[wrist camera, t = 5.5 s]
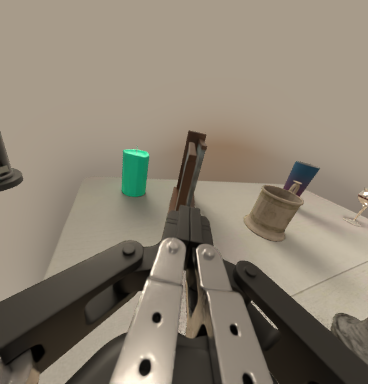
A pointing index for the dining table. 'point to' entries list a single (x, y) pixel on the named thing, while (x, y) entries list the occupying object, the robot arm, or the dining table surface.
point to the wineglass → (367, 200)
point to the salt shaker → (352, 333)
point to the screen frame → (200, 151)
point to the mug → (273, 211)
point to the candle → (134, 172)
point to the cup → (301, 176)
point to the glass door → (187, 176)
